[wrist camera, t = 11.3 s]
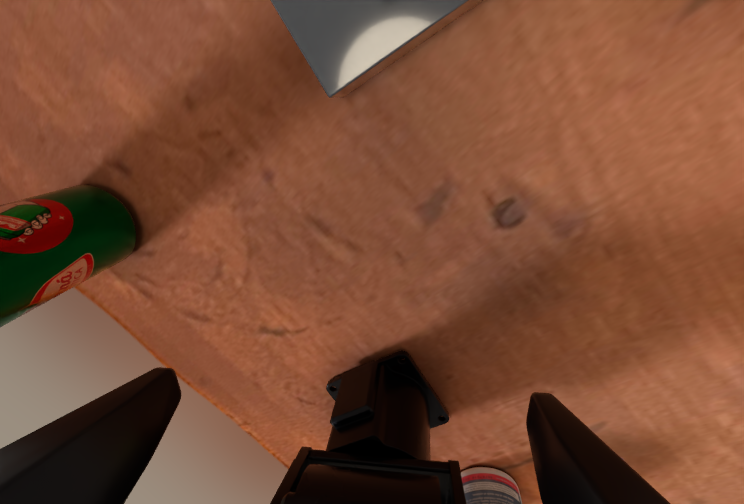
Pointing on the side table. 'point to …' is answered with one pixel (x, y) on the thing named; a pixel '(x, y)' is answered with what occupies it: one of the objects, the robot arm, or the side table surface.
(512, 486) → the pill bottle
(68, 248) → the soda can
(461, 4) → the butter dish
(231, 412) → the side table surface
